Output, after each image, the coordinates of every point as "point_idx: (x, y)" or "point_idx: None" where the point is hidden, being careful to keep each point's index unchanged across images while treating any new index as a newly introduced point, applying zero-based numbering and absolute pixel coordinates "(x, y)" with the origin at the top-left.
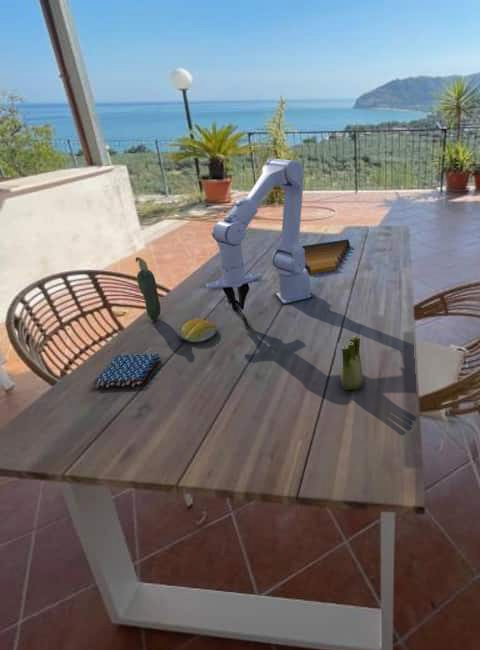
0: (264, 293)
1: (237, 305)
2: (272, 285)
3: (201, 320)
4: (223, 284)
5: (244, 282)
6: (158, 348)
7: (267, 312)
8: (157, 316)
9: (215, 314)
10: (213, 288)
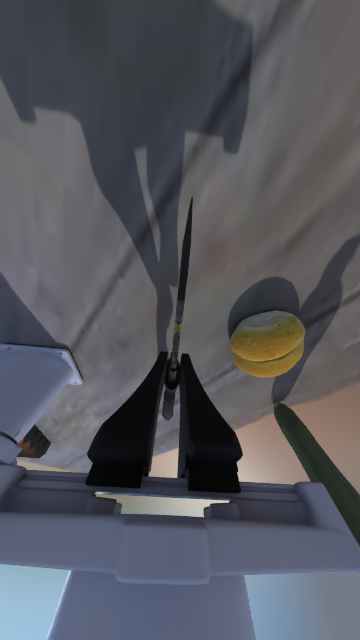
0: (105, 391)
1: (173, 370)
2: (88, 403)
3: (257, 366)
4: (273, 571)
5: (88, 539)
6: (340, 337)
7: (110, 339)
8: (282, 408)
9: (200, 378)
10: (291, 506)
